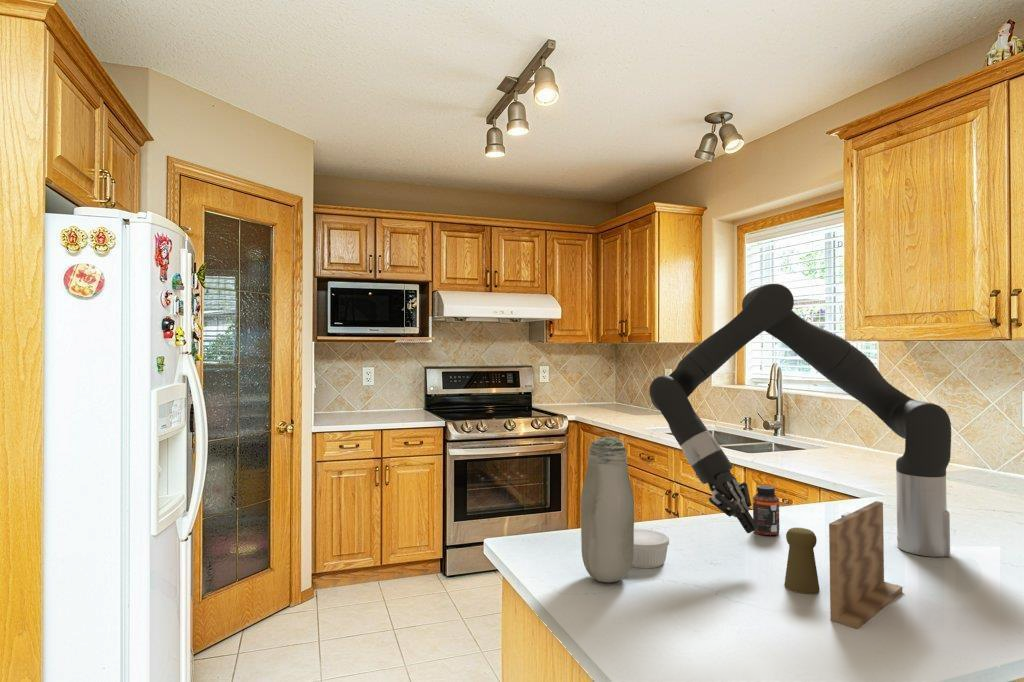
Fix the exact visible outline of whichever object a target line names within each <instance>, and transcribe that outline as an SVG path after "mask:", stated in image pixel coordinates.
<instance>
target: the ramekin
mask: <svg viewBox="0 0 1024 682" xmlns="http://www.w3.org/2000/svg"><path fill="white" fill-rule="evenodd" d="M669 545H670V538H669V537H668V536H667V534H665V533H663V532H660V531H656V530H650V529H638V528H637V529H635V528H634V557H633V563H632V566H631V568H632V567H633V568H639V569H653V568H654V569H655V568H658V567H661V566H662V565H663V564H664V563H665V562H666V558H667V552H668V546H669Z"/></svg>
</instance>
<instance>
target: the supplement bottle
mask: <svg viewBox="0 0 1024 682" xmlns="http://www.w3.org/2000/svg"><path fill="white" fill-rule="evenodd" d="M775 488H776V487H774V486H771V485H758V486H756V494H754V495H753V497H752V518H753V519H754V521H755V522H756V524H757V526H758V529H756V530H755V531H753V532H754V533H756V534H757V533H758V534H757V535H760V534H761V536H765V535H770V536H769V537H772V536H771V535H776V536H778V535H779V534H780V498H779V496H777V495H776V494H775V493H776V492H775ZM777 534H778V535H777Z"/></svg>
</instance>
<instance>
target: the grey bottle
mask: <svg viewBox="0 0 1024 682" xmlns="http://www.w3.org/2000/svg"><path fill="white" fill-rule="evenodd" d="M592 441H593V442H591V444H590V446H589V448H588V453H587V464H586V466H587V467H586V472H585V476H584V480H583V485H582V489H581V495H580V535H581V536H580V539H581V541H580V542H581V546H580V547H581V557H582V562H583V565H584V568H585V570H586V572H587V574H588V575H589V576H590V577H591V578H593V579H595V580H597V581H599V582H602V583H610V584H611V583H616V582H617V581H620V580H622V579H624V578H625V577H626V576H627V575H628V574H629V572H630V571H631V569H632V563H633V557H634V529H635V499H634V498H635V497H634V492H633V488H632V483H631V479H630V474H629V469H628V461H627V460H628V457H627V456H628V455H627V449H626V447H625V445H624V443H623V442H622V441H621V440H620V439H619V438H617V437H614V436H602V437H598V438H596V439H595V440H592Z"/></svg>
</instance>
